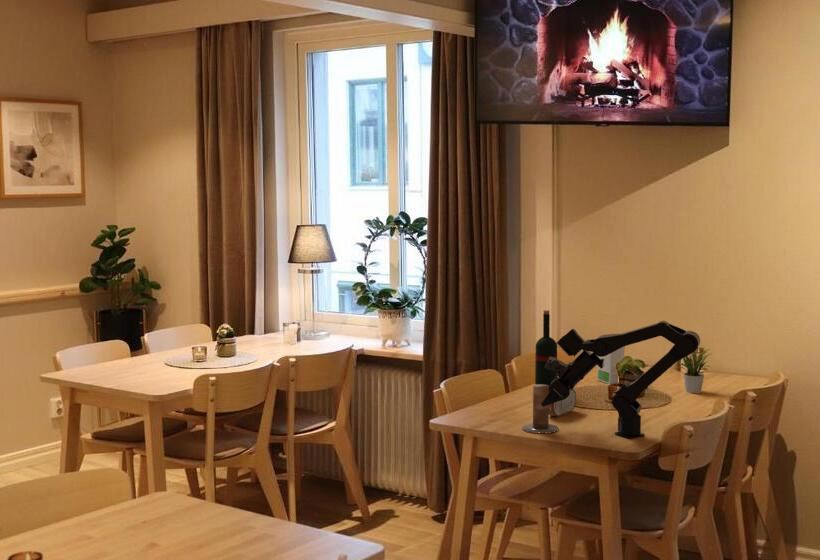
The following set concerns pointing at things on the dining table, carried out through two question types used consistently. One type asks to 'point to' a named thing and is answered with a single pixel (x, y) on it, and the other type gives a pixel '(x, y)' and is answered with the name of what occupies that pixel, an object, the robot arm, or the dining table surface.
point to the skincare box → (610, 367)
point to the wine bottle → (545, 354)
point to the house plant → (694, 372)
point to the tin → (563, 405)
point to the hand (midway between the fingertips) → (544, 402)
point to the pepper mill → (540, 407)
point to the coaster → (530, 429)
